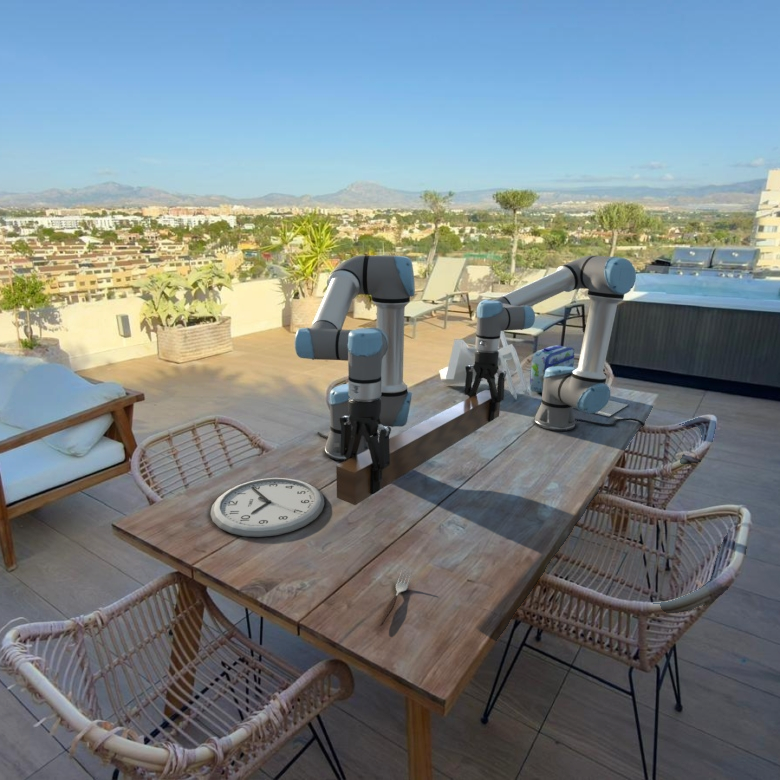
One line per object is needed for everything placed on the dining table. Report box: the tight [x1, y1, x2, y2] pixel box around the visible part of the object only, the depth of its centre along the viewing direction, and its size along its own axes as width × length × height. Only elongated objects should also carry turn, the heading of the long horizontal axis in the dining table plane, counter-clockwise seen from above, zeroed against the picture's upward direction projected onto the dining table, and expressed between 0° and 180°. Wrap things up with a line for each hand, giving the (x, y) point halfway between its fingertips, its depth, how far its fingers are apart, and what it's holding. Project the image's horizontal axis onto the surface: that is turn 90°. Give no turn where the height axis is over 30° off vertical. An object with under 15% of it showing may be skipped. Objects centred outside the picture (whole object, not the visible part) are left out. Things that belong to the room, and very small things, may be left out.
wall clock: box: [210, 477, 325, 538], centre depth 142 cm, size 30×2×30 cm
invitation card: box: [595, 399, 629, 418], centre depth 226 cm, size 21×1×15 cm
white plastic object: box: [438, 331, 531, 400], centre depth 245 cm, size 37×45×31 cm
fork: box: [379, 570, 413, 627], centre depth 106 cm, size 3×16×2 cm, turn 160°
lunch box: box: [529, 345, 575, 394], centre depth 245 cm, size 26×11×21 cm, turn 134°
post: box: [335, 389, 501, 506], centre depth 149 cm, size 75×6×8 cm, turn 143°
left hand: (364, 487), depth 127 cm, fingers closed on post, 6 cm apart
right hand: (482, 418), depth 173 cm, fingers closed on post, 6 cm apart
